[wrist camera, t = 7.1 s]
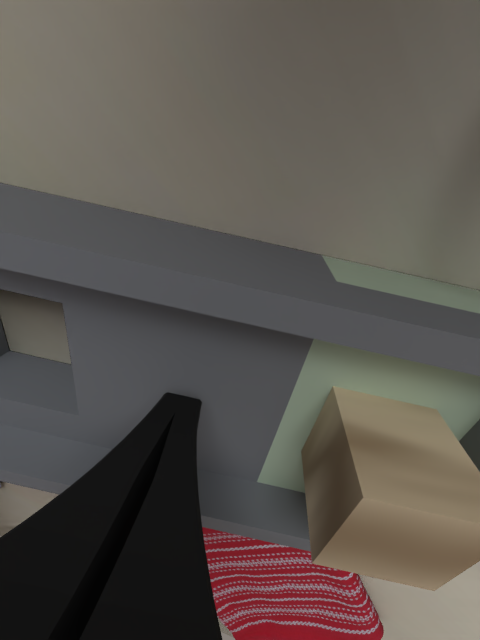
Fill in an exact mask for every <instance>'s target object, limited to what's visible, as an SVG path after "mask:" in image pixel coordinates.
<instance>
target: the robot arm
mask: <svg viewBox="0 0 480 640" xmlns="http://www.w3.org/2000/svg"><path fill="white" fill-rule="evenodd" d="M201 405H202V402H201V400H200V399H196V398H192V397H187V396H183V395H178V394H174V393H170V392H167V393H165V394H164V395H163V396H162V397H161V399H160V400H159V401H158V402H157V404H156V405H155V406H154V407H153V408H152V409H151V411H150V412H149V413H148V414H147V415H146V416H145V417H144V418H143V419H142V420H141V422H140V423H139V424H138V425H137V426H136V427H135V428H134V429H133V430H132V431H131V432H130V433H129V434H128V435H127V436H126V437H125V438H124V439H123V440H122V441H121V442H120V443H119V444H118V445H117V446H115V447H114V448H113V449H112V450H111V451H110V452H109V453H108V454H107V455H106V456H105V457H104V458H103V459H102V460H100V461H99V462H98V463H97V464H96V465H95V466H94V467H92V468H91V469H90V470H89V471H88V472H87V473H85V474H84V475H83V476H82V477H81V478H79V479H78V480H77V481H76V482H75V483H73V484H72V485H71V486H70V487H68V488H67V489H66V490H65V491H63V492H62V493H61V494H60V495H58V496H57V497H56V498H54V499H53V500H52V501H50V502H49V503H48V504H47V505H45V506H44V507H43V508H41V509H40V510H39V511H37V512H36V513H35V514H33V515H32V516H30V517H29V518H28V519H26V520H25V521H24V522H22V523H21V524H19V525H18V526H16V527H15V528H14V529H12V530H11V531H9V532H8V533H6V534H5V535H3V536H2V537H0V640H222V636H221V631H220V627H219V622H218V617H217V612H216V607H215V602H214V597H213V592H212V586H211V580H210V574H209V568H208V562H207V556H206V550H205V544H204V537H203V529H202V522H201V513H200V504H199V493H198V478H197V428H198V423H199V417H200V411H201ZM0 487H1V483H0Z"/></svg>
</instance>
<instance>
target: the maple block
mask: <svg viewBox="0 0 480 640" xmlns="http://www.w3.org/2000/svg"><path fill="white" fill-rule="evenodd" d="M301 454H302V465H303V475H304V485H305V496H306V506H307V516H308V527H309V537H310V547H311V558H312V564H317V565H321V566H326V567H330V568H335V569H339V570H343V571H348V572H352V573H357V574H361V575H365V576H370V577H374V578H379V579H383V580H388V581H392V582H396V583H401V584H405V585H410V586H414V587H418V588H423V589H427V590H432V591H435V590H436V589H438V588H439V587H441V586H442V585H444V584H445V583H447V582H448V581H450V580H451V579H453V578H454V577H456V576H457V575H459V574H460V573H462V572H463V571H465V570H466V569H468V568H469V567H471V566H472V565H474V564H476V563H477V562H479V561H480V472H479V470H478V469H477V467H476V466H475V465H474V463H473V462H472V460H471V459H470V457H469V456H468V454H467V453H466V451H465V450H464V448H463V447H462V446H461V444H460V443H459V441H458V440H457V438H456V437H455V435H454V434H453V432H452V431H451V429H450V428H449V427H448V425H447V424H446V422H445V421H444V419H443V418H442V416H441V415H440V413H439V412H438V410H437V409H433V408H429V407H424V406H420V405H415V404H411V403H406V402H402V401H397V400H393V399H388V398H384V397H379V396H375V395H371V394H366V393H362V392H357V391H353V390H348V389H344V388H339V387H335V386H333V387H332V389H331V391H330V393H329V395H328V397H327V399H326V401H325V403H324V405H323V407H322V409H321V412H320V414H319V416H318V418H317V420H316V422H315V424H314V426H313V428H312V430H311V432H310V434H309V436H308V438H307V440H306V442H305V444H304V446H303V448H302V450H301Z"/></svg>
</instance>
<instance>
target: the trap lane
mask: <svg viewBox="0 0 480 640" xmlns="http://www.w3.org/2000/svg"><path fill="white" fill-rule="evenodd" d="M0 289H2V290H6V291H11V292H15V293H20V294H24V295H28V296H33V297H37V298H42V299H46V300H51V301H55V302H59V303H62V304H63V310H64V317H65V324H66V330H67V337H68V344H69V351H70V357H71V364H72V365H70V364H66V363H61V362H57V361H53V360H48V359H44V358H39V357H35V356H30V355H26V354H22V353H17V352H13V351H9V348H8V344H7V341H6V337H5V334H4V330H3V327H2V323H1V320H0V481H3V482H7V483H11V484H16V485H20V486H25V487H29V488H33V489H38V490H42V491H47V492H51V493H55V494H61V493H62V492H63V491H65V490H66V489H67V488H68V487H70V486H71V485H72V484H73V483H75V482H76V481H77V480H78V479H79V478H81V477H82V476H83V475H84V474H85V473H87V472H88V471H89V470H90V469H91V468H92V467H94V466H95V465H96V464H97V463H98V462H99V461H100V460H102V459H103V458H104V457H105V456H106V455H107V454H108V453H109V452H110V451H111V450H112V449H113V448H114V447H115V446H117V445H118V444H119V443H120V442H121V441H122V440H123V439H124V438H125V437H126V436H127V435H128V434H129V433H130V432H131V431H132V430H133V429H134V428H135V427H136V426H137V425H138V424H139V423H140V422H141V420H142V419H143V418H144V417H145V416H146V415H147V414H148V413H149V412H150V411H151V409H152V408H153V407H154V406H155V405H156V404H157V402H158V401H159V400H160V399H161V397H162V396H163V395H164V394H165V393H167V392H170V393H174V394H178V395H183V396H187V397H192V398H196V399H200V400H201V402H202V405H201V411H200V417H199V423H198V428H197V478H198V493H199V504H200V513H201V522H202V527H205V528H209V529H214V530H218V531H222V532H227V533H231V534H235V535H240V536H244V537H249V538H253V539H257V540H262V541H266V542H271V543H275V544H279V545H284V546H288V547H293V548H297V549H301V550H306V551H310V552H311V547H310V537H309V527H308V516H307V506H306V496H305V485H304V475H303V465H302V454H301V450H302V448H303V446H304V444H305V442H306V440H307V438H308V436H309V434H310V432H311V430H312V428H313V426H314V424H315V422H316V420H317V418H318V416H319V414H320V412H321V409H322V407H323V405H324V403H325V401H326V399H327V397H328V395H329V393H330V391H331V389H332V387H333V386H335V387H339V388H344V389H348V390H353V391H357V392H362V393H366V394H371V395H375V396H379V397H384V398H388V399H393V400H397V401H402V402H406V403H411V404H415V405H420V406H424V407H429V408H433V409H437V410H438V412H439V413H440V415H441V416H442V418H443V419H444V421H445V422H446V424H447V425H448V427H449V428H450V429H451V431H452V432H453V434H454V435H455V437H456V438H457V440H458V441H459V443H460V444H461V446H462V447H463V448H464V450H465V451H466V453H467V454H468V456H469V457H470V459H471V460H472V462H473V463H474V465H475V466H476V467H477V469H478V470H479V472H480V291H479V290H475V289H470V288H466V287H462V286H457V285H453V284H448V283H444V282H439V281H435V280H430V279H426V278H422V277H417V276H413V275H408V274H404V273H399V272H395V271H390V270H386V269H382V268H377V267H373V266H368V265H364V264H359V263H355V262H350V261H346V260H341V259H337V258H333V257H328V256H324V255H319V254H315V253H310V252H306V251H301V250H297V249H293V248H288V247H284V246H279V245H275V244H270V243H266V242H261V241H257V240H253V239H248V238H244V237H239V236H235V235H230V234H226V233H221V232H217V231H212V230H208V229H204V228H199V227H195V226H190V225H186V224H181V223H177V222H172V221H168V220H164V219H159V218H155V217H150V216H146V215H141V214H137V213H132V212H128V211H124V210H119V209H115V208H110V207H106V206H101V205H97V204H92V203H88V202H83V201H79V200H75V199H70V198H66V197H61V196H57V195H52V194H48V193H43V192H39V191H35V190H30V189H26V188H21V187H17V186H12V185H8V184H3V183H0Z"/></svg>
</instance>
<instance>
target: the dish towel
mask: <svg viewBox="0 0 480 640" xmlns="http://www.w3.org/2000/svg"><path fill="white" fill-rule="evenodd" d="M202 529H203V537H204V544H205V550H206V556H207V562H208V568H209V574H210V580H211V586H212V592H213V597H214V602H215V607H216V612H217V617H219V619H220V621H221V622H222V623H223V624H224V625H225V626H226V627H227V628H228V629H229V631H230V632H232V634H233V636H234V638H235V639H236V640H381V638H382V637H383V626H382V623H381V621H380V619H379V616H378V613H377V612H376V610H375V607H374V606H373V603H372V601H371V599H370V597H369V595H368V594H367V592H366V589H365V588H364V586H363V583H362V582H361V579H360V577H359V575H358V574H357V573H352V572H348V571H343V570H339V569H335V568H330V567H326V566H321V565H317V564H312V558H311V552H310V551H306V550H301V549H297V548H293V547H288V546H284V545H279V544H275V543H271V542H266V541H262V540H257V539H253V538H249V537H244V536H240V535H235V534H231V533H227V532H222V531H218V530H214V529H209V528H205V527H202Z"/></svg>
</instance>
